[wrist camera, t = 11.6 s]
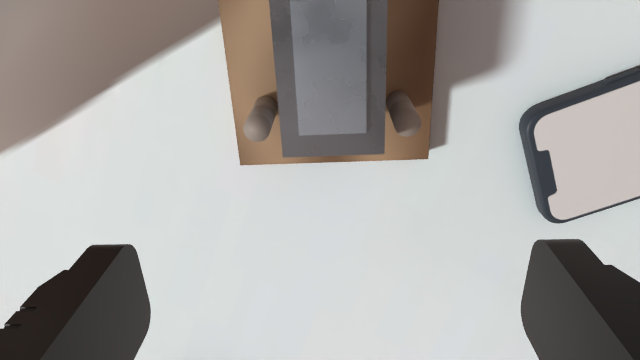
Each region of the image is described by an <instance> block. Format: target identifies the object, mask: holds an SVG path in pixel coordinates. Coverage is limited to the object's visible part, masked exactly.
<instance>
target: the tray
mask: <svg viewBox="0 0 640 360" xmlns="http://www.w3.org/2000/svg"><path fill="white" fill-rule="evenodd" d="M218 2H219V10H220V17H221V25H222V32H223V39H224V47H225V54H226V62H227V69H228V77H229V84H230V91H231V99H232V106H233V114H234V121H235V129H236V136H237V143H238V151H239V158H240V165H261V164H291V163H321V162H352V161H382V160H412V159H428V154H429V139H430V124H431V109H432V94H433V78H434V63H435V48H436V33H437V18H438V3H439V0H388V5H387V56H386V108H385V154H375V155H345V156H316V157H286V158H283V154H282V143H281V132H280V121H279V109H278V98H277V87H276V75H275V64H274V53H273V42H272V30H271V19H270V8H269V0H218Z"/></svg>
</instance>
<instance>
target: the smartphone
mask: <svg viewBox="0 0 640 360" xmlns="http://www.w3.org/2000/svg"><path fill="white" fill-rule="evenodd" d="M519 131H520V135H521V140H522V144H523V148H524V153H525V157H526V161H527V166H528V170H529V174H530V179H531V183H532V188H533V192H534V196H535V201H536V205H537V208H538V210H539V212H540V213H541V214H542V215H543V216H544V218H545V219H547V220H548V221H550V222H552V223H565V222H568V221H571V220H574V219H577V218H581V217H584V216H587V215H590V214H593V213H596V212H599V211H602V210H605V209H609V208H612V207H615V206H618V205H621V204H624V203H627V202H630V201H633V200H636V199H640V67H637V68H634V69H631V70H629V71H626V72H623V73H620V74H618V75H615V76H612V77H610V78H607V79H604V80H602V81H599V82H596V83H594V84H591V85H588V86H585V87H583V88H580V89H577V90H575V91H572V92H569V93H566V94H564V95H561V96H558V97H556V98H553V99H550V100H547V101H545V102H542V103H539V104H537V105H534V106H532V107H531V108H529V109H528V110H527V111H526V112H525V113H524V114H523V116H522V118H521V120H520V123H519Z"/></svg>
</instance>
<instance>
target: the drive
mask: <svg viewBox="0 0 640 360" xmlns="http://www.w3.org/2000/svg"><path fill="white" fill-rule="evenodd" d="M387 5H388V0H269V8H270V19H271V30H272V42H273V53H274V64H275V75H276V87H277V98H278V109H279V121H280V132H281V143H282V154H283V158H286V157H316V156H345V155H375V154H385V108H386V56H387Z"/></svg>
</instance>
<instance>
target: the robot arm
mask: <svg viewBox="0 0 640 360" xmlns="http://www.w3.org/2000/svg"><path fill="white" fill-rule="evenodd" d="M150 314H151V310H150V302H149V298H148V294H147V290H146V286H145V282H144V278H143V274H142V270H141V266H140V262H139V258H138V255H137V252H136V249H135V248H134V247H133V246H132V245H130V244H120V245H92V246H90V247H88V248H87V249H86V251H85V252H84V253H83V254H82V255H81V256H80V258H79V259H78V260H77V261H76V262H75V263H74V265H73V266H72V267H71V268H70V269H69V270H63V271H62V272H60V273H59V274H57V275H56V276H54V277H53V278H51V279H50V280H48V281H47V282H45V283H44V284H42V285H41V286H39V287H38V288H37V289H36V290H35V291H34V292H33V294H32V295H31V296H30V297H29V298H28V299H27V300H26V301H25V302H24V303H23V305H22V306H21V307H20V311H16V312H15V313H14V314H13V316H12V317H11V318H10V319H9V320H8V321H7V322H6V323H5V327H4V329H0V360H134V358H135V356H136V354H137V352H138V350H139V348H140V346H141V344H142V342H143V340H144V338H145V336H146V334H147V331H148V328H149V323H150ZM521 317H522V322H523V326H524V330H525V332H526V335H527V337H528V339H529V340H530V342H531V344H532V346H533V348H534V350H535V352H536V354H537V356H538V358H539V360H640V282H638V281H636V280H635V279H633V278H632V277H630V276H628V275H627V274H625V273H624V272H622V271H620V270H619V269H617V268H616V267H614V266H612V265H604V264H603V263H602V262H601V261H600V260H599V259H598V257H597V256H596V255H595V254H594V253H593V252H592V251H591V250H590V248H589V247H588V246H587V245H586V244H585V243H584V242H583V241H581V240H579V239H554V240H537V241H536V242H535V243H534V245H533V247H532V251H531V256H530V261H529V266H528V270H527V275H526V280H525V285H524V290H523V295H522V301H521Z"/></svg>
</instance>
